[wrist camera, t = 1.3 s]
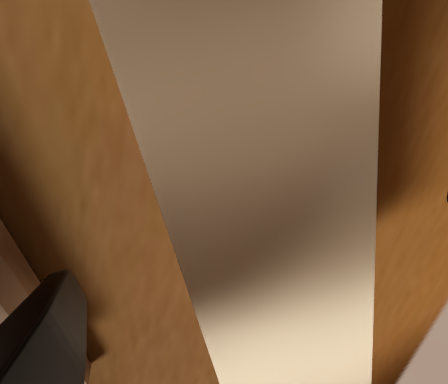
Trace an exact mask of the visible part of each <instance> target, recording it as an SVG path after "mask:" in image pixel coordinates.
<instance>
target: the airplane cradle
mask: <svg viewBox="0 0 448 384" xmlns="http://www.w3.org/2000/svg"><path fill="white" fill-rule="evenodd" d="M40 284H41V283H40V281H39V280H38V278H37V277H36V275H35V273H34V272H33V270H32V269H31V267H30V265H29V264H28V262H27V261H26V259H25V257H24V256H23V254H22V253H21V251H20V249H19V248H18V246H17V245H16V243H15V241H14V240H13V238H12V237H11V235H10V233H9V232H8V230H7V229H6V227H5V225H4V224H3V222H2V221H1V219H0V324H1V323H2V322H3V321H4V320H5V319H6V318H7V317H8V316H9V315H10V314H11V313H12V312H13V311H14V310H15V309H16V308H17V307H18V306H19V305H20V304H21V303H22V302H23V301H24V300H25V299H26V298H27V297H28V296H29V295H30V294H31V293H32V292H33V291H34V290H35V289H36V288H37V287H38V286H39V285H40ZM90 368H91V363H90V362H89V360H88V358H87V357H86V373H85V382H84V384H88V381H89V374H90Z"/></svg>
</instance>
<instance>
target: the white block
mask: <svg viewBox="0 0 448 384" xmlns="http://www.w3.org/2000/svg"><path fill="white" fill-rule="evenodd" d="M89 1H90V4H91V7H92V10H93V13H94V16H95V19H96V22H97V25H98V28H99V31H100V34H101V37H102V40H103V43H104V45H105V48H106V51H107V54H108V57H109V60H110V63H111V66H112V69H113V72H114V75H115V78H116V81H117V84H118V87H119V90H120V92H121V95H122V98H123V101H124V104H125V107H126V110H127V113H128V116H129V119H130V122H131V125H132V128H133V131H134V134H135V137H136V139H137V142H138V145H139V148H140V151H141V154H142V157H143V160H144V163H145V166H146V169H147V172H148V175H149V178H150V181H151V184H152V187H153V189H154V192H155V195H156V198H157V201H158V204H159V207H160V210H161V213H162V216H163V219H164V222H165V225H166V228H167V231H168V234H169V236H170V239H171V242H172V245H173V248H174V251H175V254H176V257H177V260H178V263H179V266H180V269H181V272H182V275H183V278H184V281H185V283H186V286H187V289H188V292H189V295H190V298H191V301H192V304H193V307H194V310H195V313H196V316H197V319H198V322H199V325H200V328H201V330H202V333H203V336H204V339H205V342H206V345H207V348H208V351H209V354H210V357H211V360H212V363H213V366H214V369H215V372H216V375H217V377H218V380H219V383H220V384H371V380H372V345H373V310H374V275H375V241H376V206H377V171H378V136H379V101H380V66H381V32H382V0H89Z"/></svg>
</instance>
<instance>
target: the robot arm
mask: <svg viewBox="0 0 448 384" xmlns="http://www.w3.org/2000/svg"><path fill="white" fill-rule="evenodd" d="M447 202H448V194H447ZM86 353H87V299H86V296H85V293H84V292H83V290H82V288H81V286H80V284H79V282H78V281H77V279H76V277H75V275H74V273H73V272H72V271H71V270H68V269H66V270H62V271H58V272H54V273H51V274H50V275H48V276H47V277H46V278H45V279H44V281H43V282H42V283H41V284H40V285H39V286H38V287H37V288H36V289H35V290H34V291H33V292H32V293H31V294H30V295H29V296H28V297H27V298H26V299H25V300H24V301H23V302H22V303H21V304H20V305H19V306H18V307H17V308H16V309H15V310H14V311H13V312H12V313H11V314H10V315H9V316H8V317H7V318H6V319H5V320H4V321H3V322H2V323H1V324H0V384H84V382H85V373H86Z"/></svg>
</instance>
